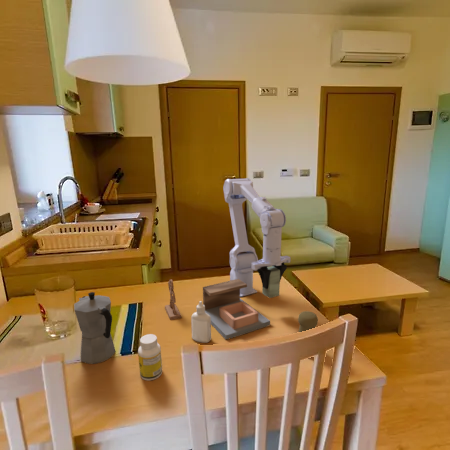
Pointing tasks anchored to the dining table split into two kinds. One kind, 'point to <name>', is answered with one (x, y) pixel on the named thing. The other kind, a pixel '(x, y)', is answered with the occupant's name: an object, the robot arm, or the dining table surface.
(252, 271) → the robot arm
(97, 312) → the coffeepot
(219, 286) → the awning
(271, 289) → the peg
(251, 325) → the socket stand
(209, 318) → the eye dropper bottle
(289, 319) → the dining table surface
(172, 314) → the brown statuette
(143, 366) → the supplement bottle
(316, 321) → the olive rounded piece
